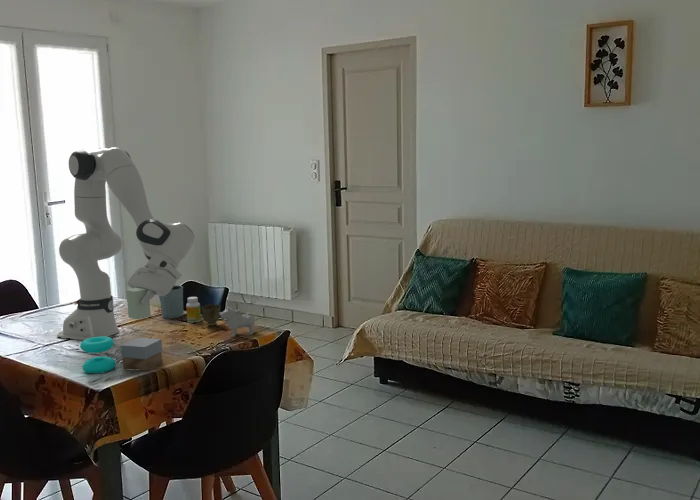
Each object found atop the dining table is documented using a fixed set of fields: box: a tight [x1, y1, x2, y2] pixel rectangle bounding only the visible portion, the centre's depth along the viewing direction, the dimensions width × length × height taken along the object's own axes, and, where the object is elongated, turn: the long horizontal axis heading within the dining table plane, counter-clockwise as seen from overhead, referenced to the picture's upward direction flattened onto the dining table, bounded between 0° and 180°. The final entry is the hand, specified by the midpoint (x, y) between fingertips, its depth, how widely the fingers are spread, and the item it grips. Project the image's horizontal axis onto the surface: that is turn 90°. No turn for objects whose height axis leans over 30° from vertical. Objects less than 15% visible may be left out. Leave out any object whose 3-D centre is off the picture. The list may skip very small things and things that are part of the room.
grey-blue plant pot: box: [158, 284, 185, 319], centre depth 290 cm, size 10×10×12 cm
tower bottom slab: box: [122, 351, 163, 371], centre depth 226 cm, size 9×9×4 cm
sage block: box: [126, 287, 152, 320], centre depth 223 cm, size 5×5×9 cm
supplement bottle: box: [185, 296, 202, 324], centre depth 280 cm, size 5×5×10 cm
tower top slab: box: [120, 337, 163, 359], centre depth 226 cm, size 9×9×4 cm
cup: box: [200, 303, 221, 327], centre depth 272 cm, size 8×7×8 cm
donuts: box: [80, 336, 116, 374], centre depth 223 cm, size 10×10×10 cm
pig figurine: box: [219, 306, 256, 337], centre depth 259 cm, size 5×13×11 cm, turn 105°
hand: (136, 302), depth 222 cm, fingers closed on sage block, 5 cm apart
